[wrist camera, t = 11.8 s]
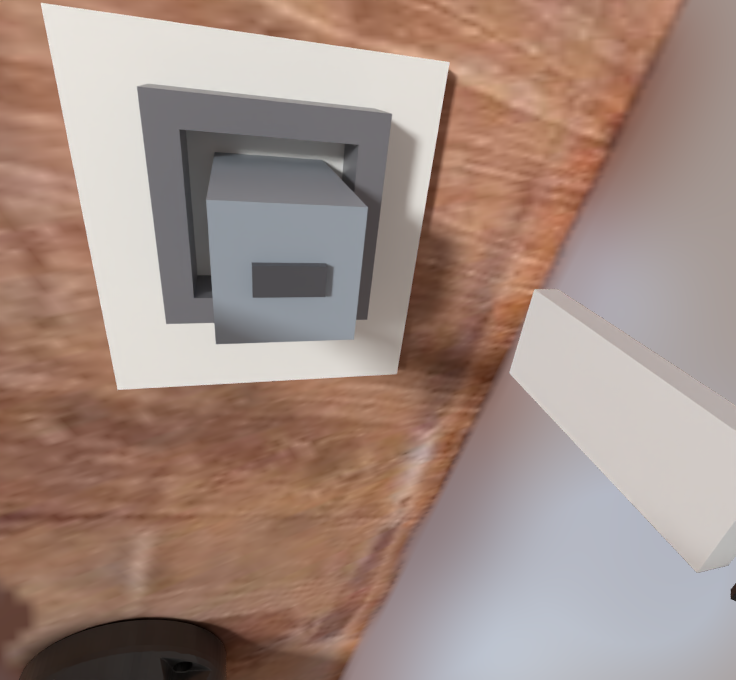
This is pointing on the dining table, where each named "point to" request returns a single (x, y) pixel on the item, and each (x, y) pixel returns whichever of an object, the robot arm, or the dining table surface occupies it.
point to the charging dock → (193, 169)
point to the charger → (283, 250)
